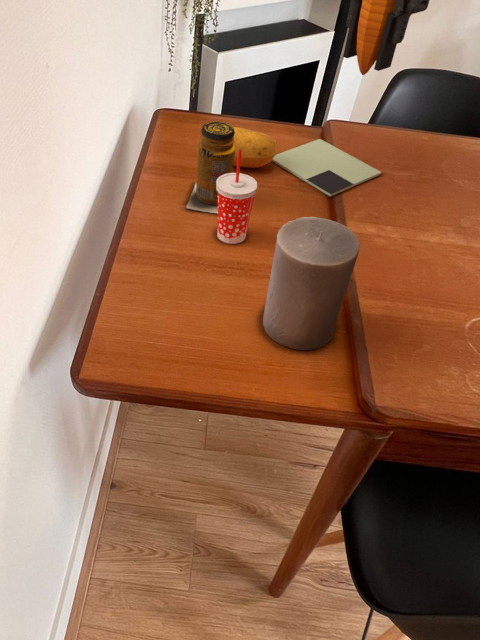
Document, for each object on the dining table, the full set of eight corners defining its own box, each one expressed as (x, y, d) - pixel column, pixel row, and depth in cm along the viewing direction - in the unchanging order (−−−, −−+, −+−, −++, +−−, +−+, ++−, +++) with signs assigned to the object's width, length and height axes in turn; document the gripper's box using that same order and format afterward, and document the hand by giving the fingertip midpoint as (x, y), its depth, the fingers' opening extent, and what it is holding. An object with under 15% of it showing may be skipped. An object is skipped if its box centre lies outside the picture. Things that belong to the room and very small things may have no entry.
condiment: (235, 189, 93) (242, 121, 84) (228, 215, 88) (235, 145, 79) (195, 184, 94) (198, 115, 85) (185, 209, 89) (187, 139, 79)
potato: (266, 181, 96) (271, 145, 90) (196, 164, 99) (198, 128, 94) (279, 163, 100) (284, 127, 95) (212, 146, 103) (214, 111, 98)
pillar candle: (345, 343, 69) (380, 248, 58) (277, 357, 67) (298, 261, 56) (315, 296, 75) (340, 201, 64) (251, 307, 73) (265, 211, 62)
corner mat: (380, 174, 99) (381, 171, 99) (330, 196, 93) (330, 193, 93) (319, 140, 107) (319, 138, 107) (268, 159, 101) (269, 156, 101)
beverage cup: (226, 219, 87) (233, 135, 76) (257, 233, 85) (270, 148, 74) (204, 236, 84) (209, 151, 73) (237, 251, 81) (247, 165, 71)
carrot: (343, 67, 78) (371, -63, 66) (376, 69, 78) (410, -61, 66) (348, 80, 74) (380, -54, 63) (383, 82, 74) (421, -52, 63)
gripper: (339, -182, 60) (302, 47, 78) (479, -166, 51) (401, 89, 69) (380, -182, 63) (336, 38, 81) (519, -167, 54) (435, 76, 72)
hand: (366, 61), depth 75 cm, fingers closed on carrot, 5 cm apart
